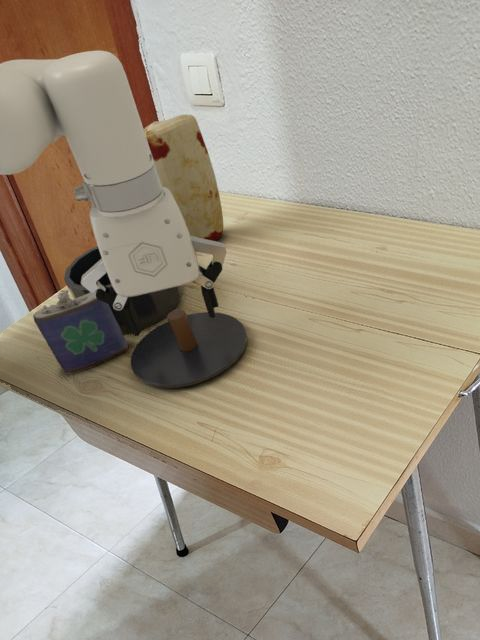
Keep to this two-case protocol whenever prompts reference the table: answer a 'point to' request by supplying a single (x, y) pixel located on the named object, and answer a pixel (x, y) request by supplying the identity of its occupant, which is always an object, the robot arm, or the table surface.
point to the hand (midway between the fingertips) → (175, 321)
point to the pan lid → (188, 349)
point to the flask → (80, 332)
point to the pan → (146, 305)
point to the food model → (187, 173)
